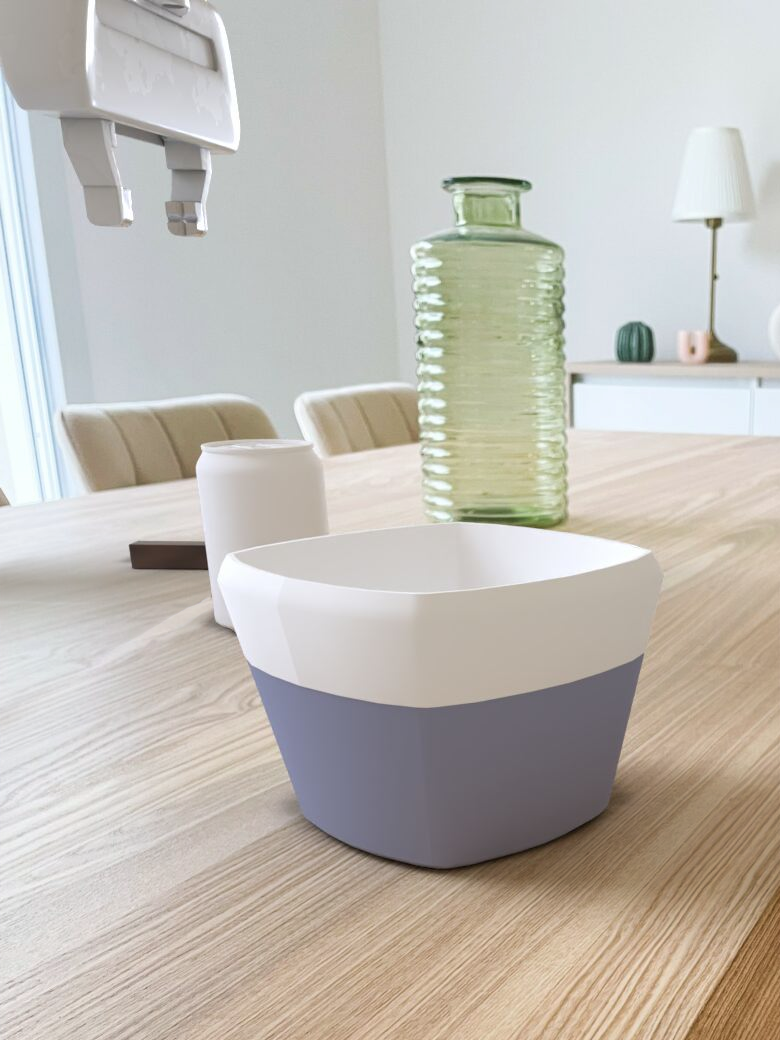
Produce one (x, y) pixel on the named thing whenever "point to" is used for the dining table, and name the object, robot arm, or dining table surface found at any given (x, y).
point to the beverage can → (257, 499)
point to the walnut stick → (169, 554)
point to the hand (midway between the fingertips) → (152, 232)
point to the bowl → (446, 679)
